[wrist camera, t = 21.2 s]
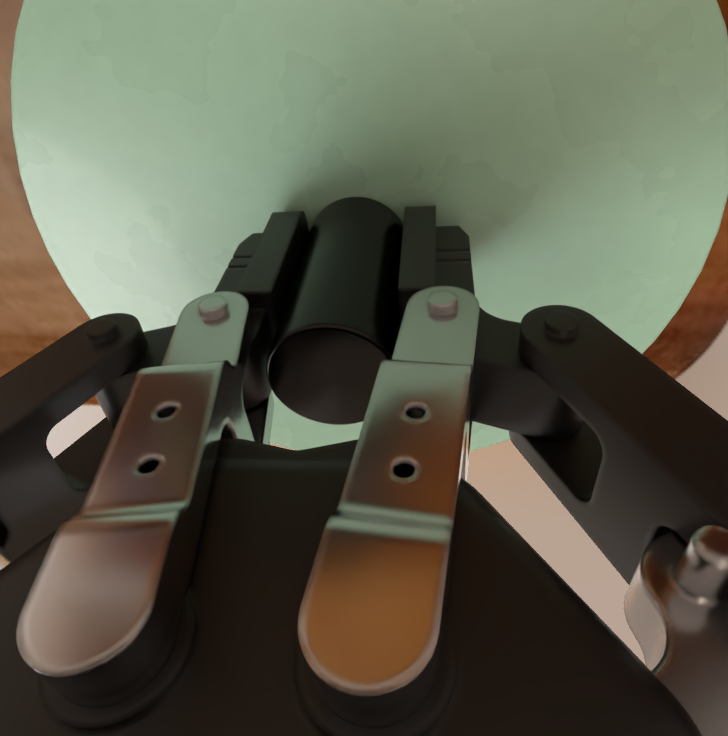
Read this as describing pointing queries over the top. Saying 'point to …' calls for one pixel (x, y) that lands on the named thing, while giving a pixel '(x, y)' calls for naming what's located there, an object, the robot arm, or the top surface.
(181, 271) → the pan lid
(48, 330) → the top surface
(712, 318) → the top surface
